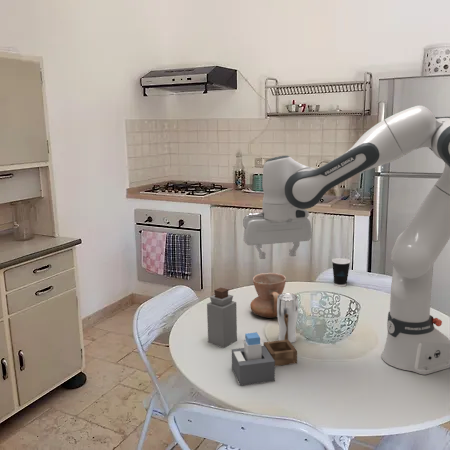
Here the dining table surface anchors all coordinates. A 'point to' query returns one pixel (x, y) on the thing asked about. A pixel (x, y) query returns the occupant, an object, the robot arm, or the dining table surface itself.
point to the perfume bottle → (222, 319)
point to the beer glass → (287, 316)
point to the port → (253, 367)
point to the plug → (252, 347)
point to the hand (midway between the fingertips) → (277, 257)
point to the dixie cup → (340, 271)
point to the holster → (282, 352)
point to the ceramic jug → (267, 294)
